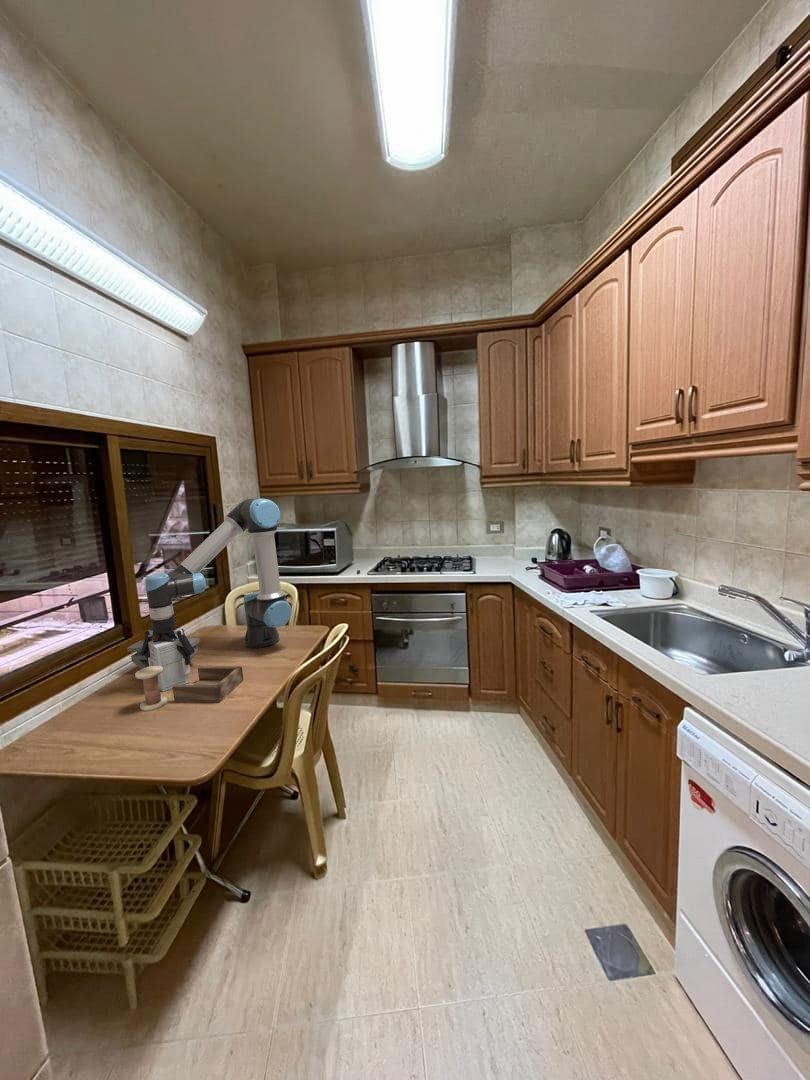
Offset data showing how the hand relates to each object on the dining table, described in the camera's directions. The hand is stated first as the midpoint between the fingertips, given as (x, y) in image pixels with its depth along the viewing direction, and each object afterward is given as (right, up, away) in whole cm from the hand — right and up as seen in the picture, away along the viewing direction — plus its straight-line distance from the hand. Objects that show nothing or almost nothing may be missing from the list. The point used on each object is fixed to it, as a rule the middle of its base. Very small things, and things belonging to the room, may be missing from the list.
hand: (170, 673), depth 165 cm
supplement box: (0, -4, +1) cm, 4 cm away
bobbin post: (+2, -6, -15) cm, 16 cm away
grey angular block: (-9, -3, +15) cm, 18 cm away
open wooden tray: (+17, -4, -7) cm, 19 cm away
